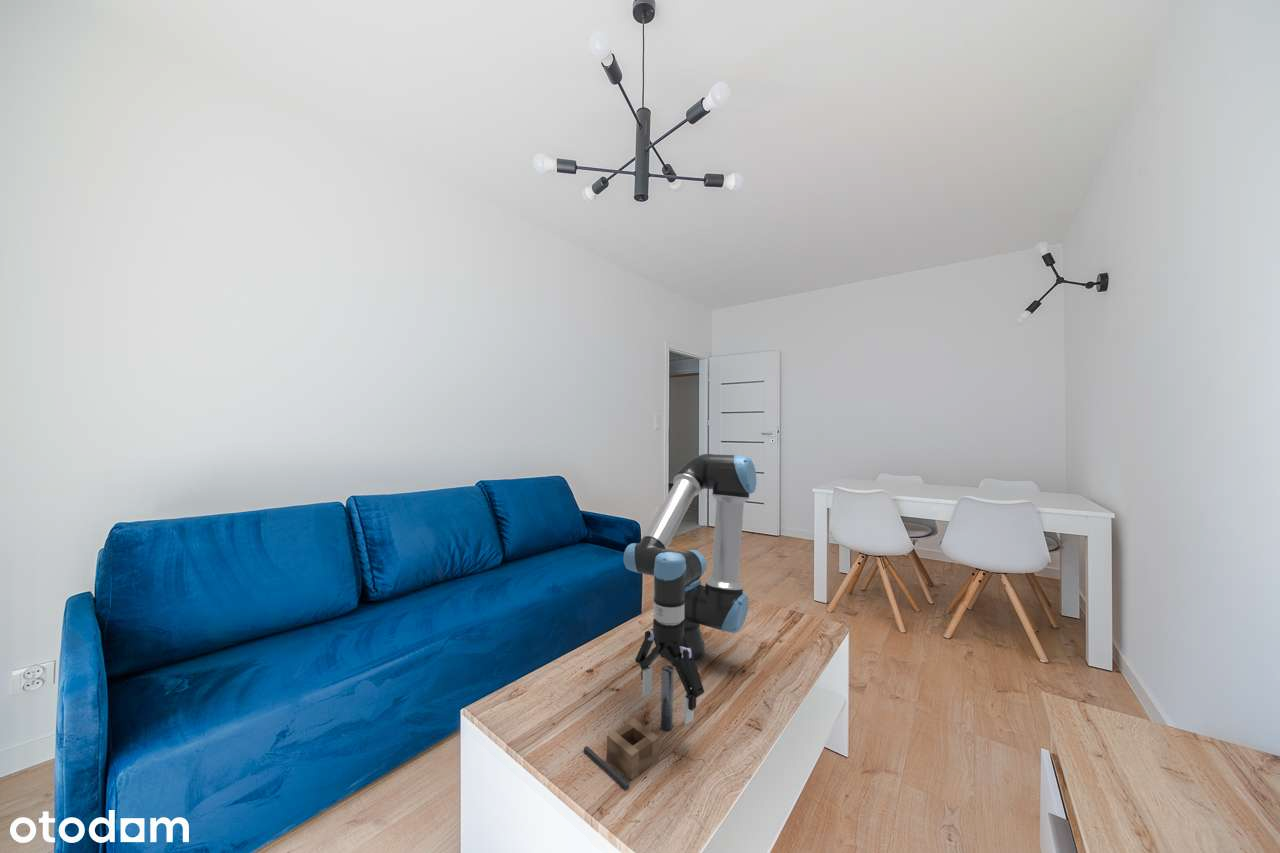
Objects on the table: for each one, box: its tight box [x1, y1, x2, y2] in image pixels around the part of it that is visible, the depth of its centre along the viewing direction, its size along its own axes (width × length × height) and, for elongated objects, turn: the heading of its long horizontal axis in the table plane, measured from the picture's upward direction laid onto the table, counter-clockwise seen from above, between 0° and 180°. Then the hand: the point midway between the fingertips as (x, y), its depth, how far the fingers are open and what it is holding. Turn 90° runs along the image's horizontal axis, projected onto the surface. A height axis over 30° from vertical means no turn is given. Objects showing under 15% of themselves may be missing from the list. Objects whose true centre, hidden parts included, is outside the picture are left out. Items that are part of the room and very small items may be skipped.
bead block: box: [606, 718, 660, 781], centre depth 94 cm, size 8×8×5 cm
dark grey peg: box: [660, 665, 674, 732], centre depth 104 cm, size 3×3×14 cm
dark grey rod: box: [583, 745, 630, 791], centre depth 91 cm, size 14×1×1 cm, turn 44°
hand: (666, 707), depth 104 cm, fingers open, 13 cm apart
